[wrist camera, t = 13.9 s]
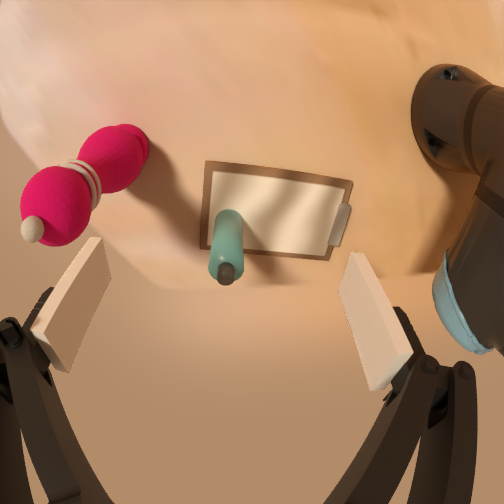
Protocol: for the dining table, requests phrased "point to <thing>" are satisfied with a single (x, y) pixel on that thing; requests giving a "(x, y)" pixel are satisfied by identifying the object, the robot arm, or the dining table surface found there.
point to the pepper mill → (81, 184)
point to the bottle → (227, 247)
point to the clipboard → (277, 209)
